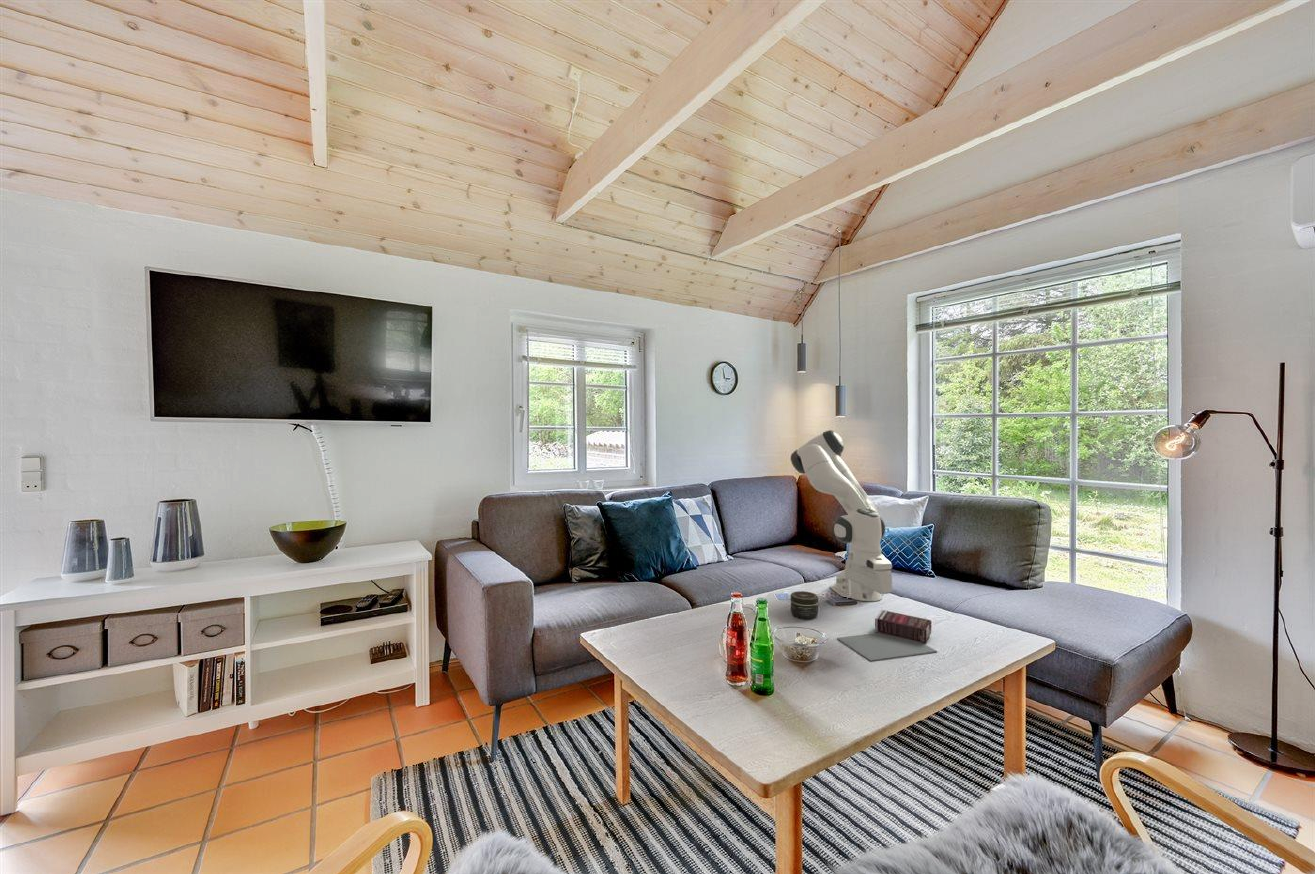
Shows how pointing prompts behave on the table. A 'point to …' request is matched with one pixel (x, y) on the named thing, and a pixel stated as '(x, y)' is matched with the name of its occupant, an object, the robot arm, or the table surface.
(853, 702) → the table surface
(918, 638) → the supplement box
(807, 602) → the jar
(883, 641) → the mat
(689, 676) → the table surface
